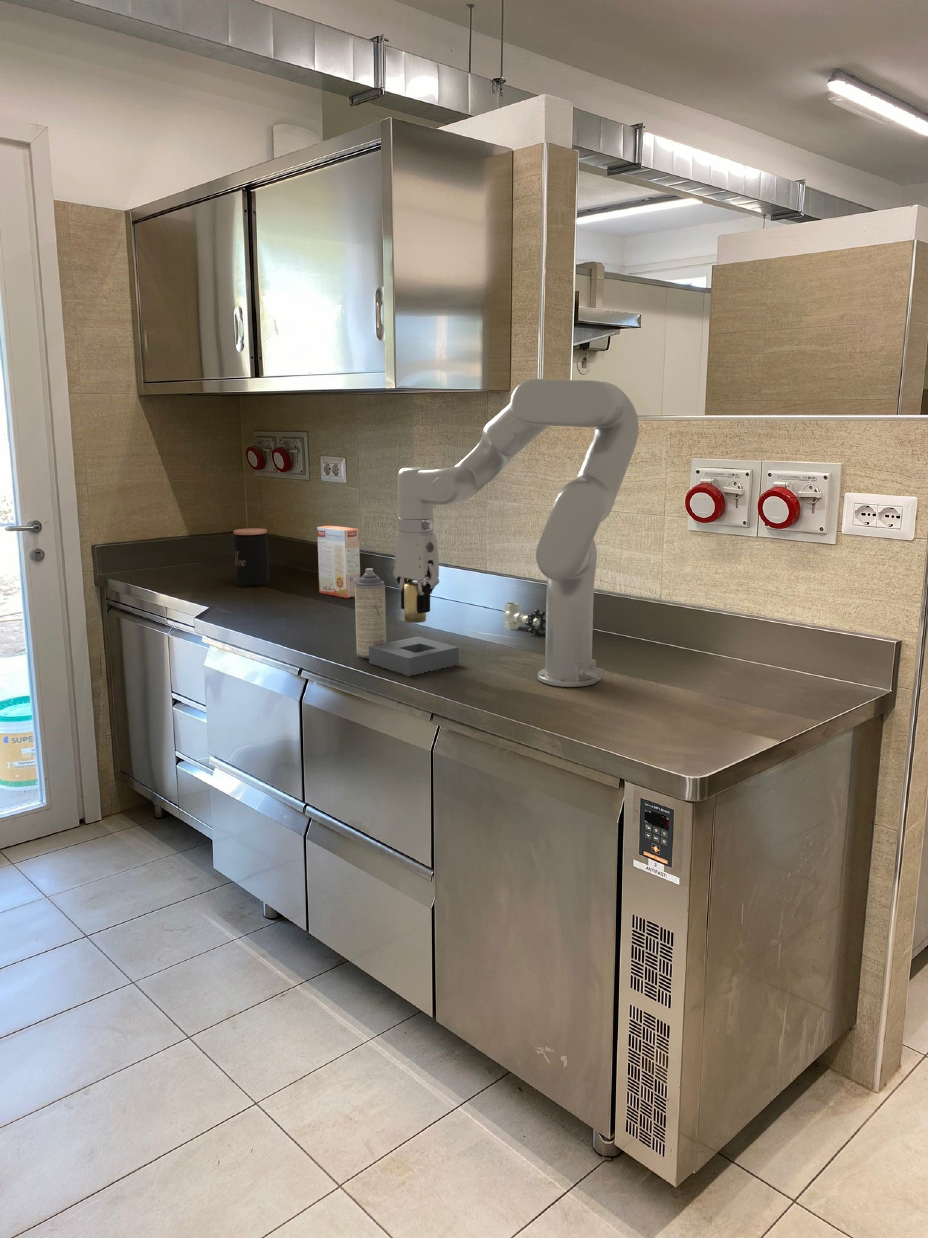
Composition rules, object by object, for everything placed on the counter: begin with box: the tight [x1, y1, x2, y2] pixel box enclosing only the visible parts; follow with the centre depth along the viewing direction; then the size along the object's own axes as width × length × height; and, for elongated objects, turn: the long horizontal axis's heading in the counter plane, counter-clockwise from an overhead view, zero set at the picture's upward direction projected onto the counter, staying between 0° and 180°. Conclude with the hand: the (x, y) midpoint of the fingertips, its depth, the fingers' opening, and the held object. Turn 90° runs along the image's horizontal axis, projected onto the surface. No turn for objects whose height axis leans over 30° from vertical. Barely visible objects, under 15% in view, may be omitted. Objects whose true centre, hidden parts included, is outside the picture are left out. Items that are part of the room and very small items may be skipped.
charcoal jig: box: [368, 636, 460, 677], centre depth 203 cm, size 14×14×4 cm
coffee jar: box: [232, 527, 270, 588], centre depth 300 cm, size 11×11×18 cm
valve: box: [503, 601, 546, 636], centre depth 235 cm, size 7×7×12 cm
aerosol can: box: [354, 567, 387, 659], centre depth 209 cm, size 7×7×20 cm
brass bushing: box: [403, 581, 427, 624], centre depth 199 cm, size 5×5×8 cm
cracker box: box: [316, 525, 361, 599], centre depth 282 cm, size 14×6×21 cm, turn 44°
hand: (415, 609), depth 200 cm, fingers closed on brass bushing, 4 cm apart
